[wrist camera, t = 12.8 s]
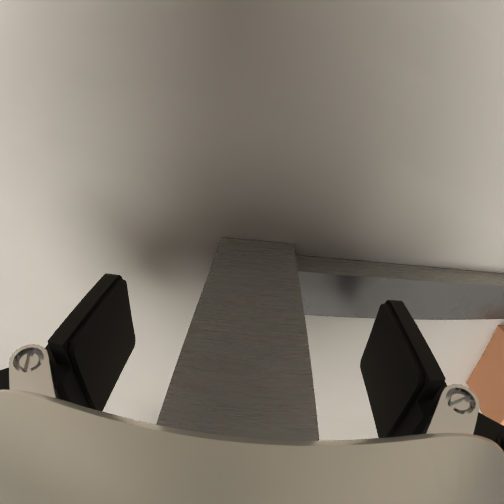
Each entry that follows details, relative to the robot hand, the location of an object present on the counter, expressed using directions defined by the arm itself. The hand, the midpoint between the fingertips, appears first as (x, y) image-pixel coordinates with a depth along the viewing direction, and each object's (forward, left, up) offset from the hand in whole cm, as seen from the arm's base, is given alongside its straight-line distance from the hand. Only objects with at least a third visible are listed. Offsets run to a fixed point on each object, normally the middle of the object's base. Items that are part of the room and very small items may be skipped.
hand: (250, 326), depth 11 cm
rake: (+3, +11, -4) cm, 12 cm away
